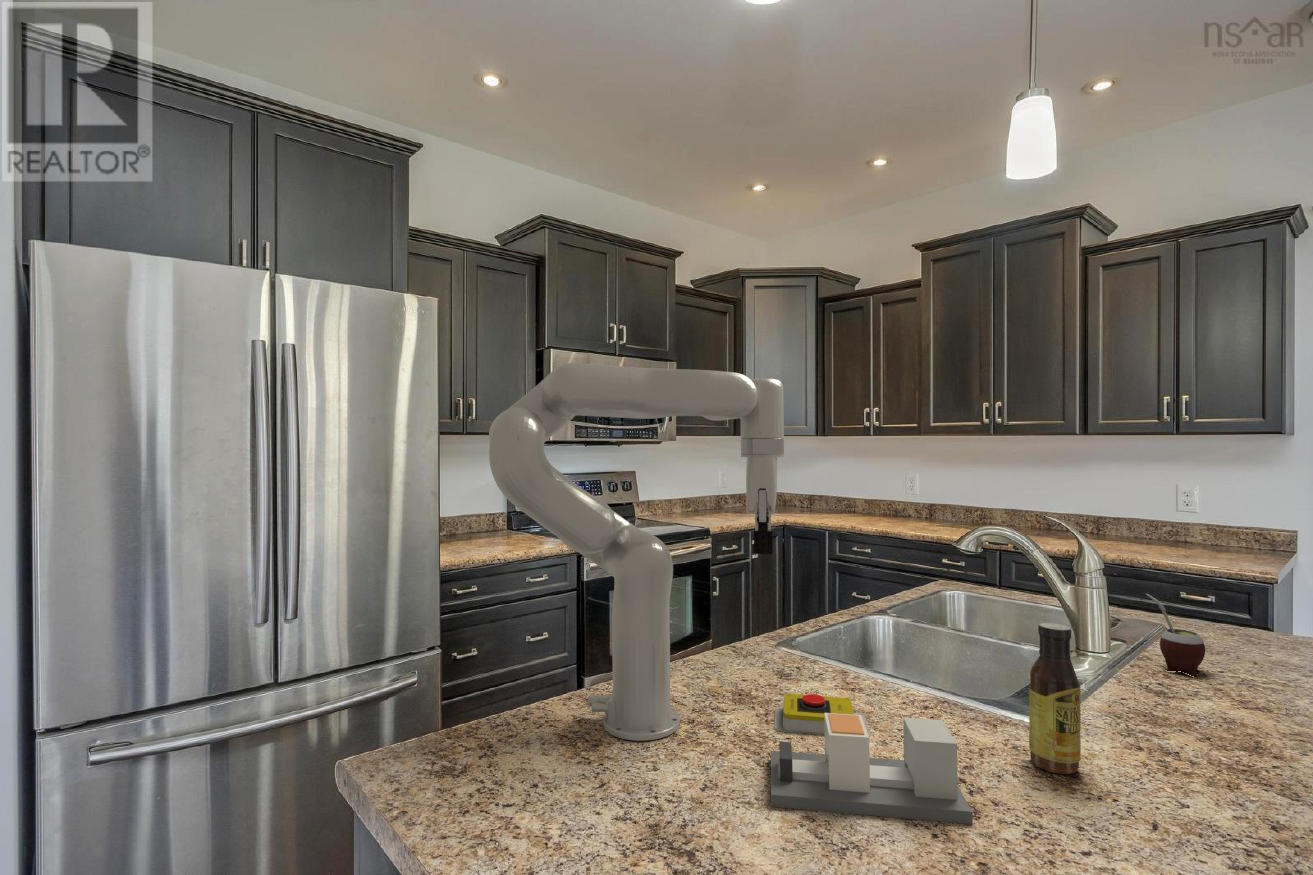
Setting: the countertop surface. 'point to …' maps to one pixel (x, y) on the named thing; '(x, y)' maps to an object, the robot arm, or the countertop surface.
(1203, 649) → the mate gourd
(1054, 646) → the sauce bottle
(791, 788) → the rail board
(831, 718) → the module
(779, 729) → the emergency button
